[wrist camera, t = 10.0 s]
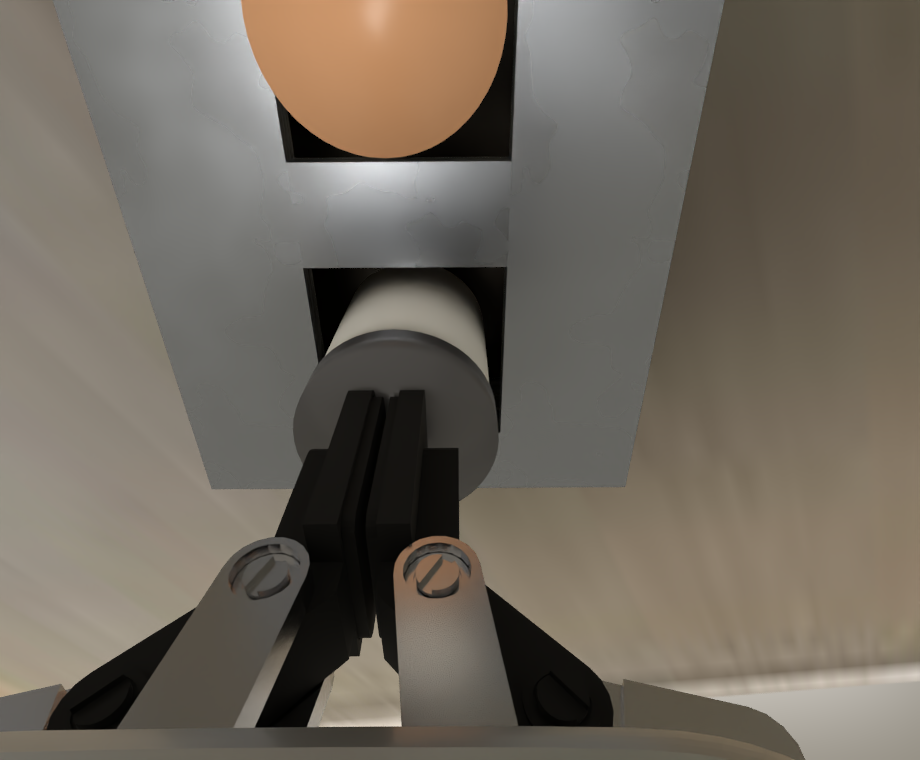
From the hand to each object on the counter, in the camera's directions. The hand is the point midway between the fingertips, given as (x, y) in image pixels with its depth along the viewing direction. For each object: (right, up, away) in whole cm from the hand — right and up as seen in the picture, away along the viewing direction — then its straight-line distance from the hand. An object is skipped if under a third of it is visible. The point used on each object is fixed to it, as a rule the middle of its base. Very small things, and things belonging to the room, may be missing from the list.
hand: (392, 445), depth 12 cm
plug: (0, +3, +5) cm, 6 cm away
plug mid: (0, +11, +2) cm, 11 cm away
